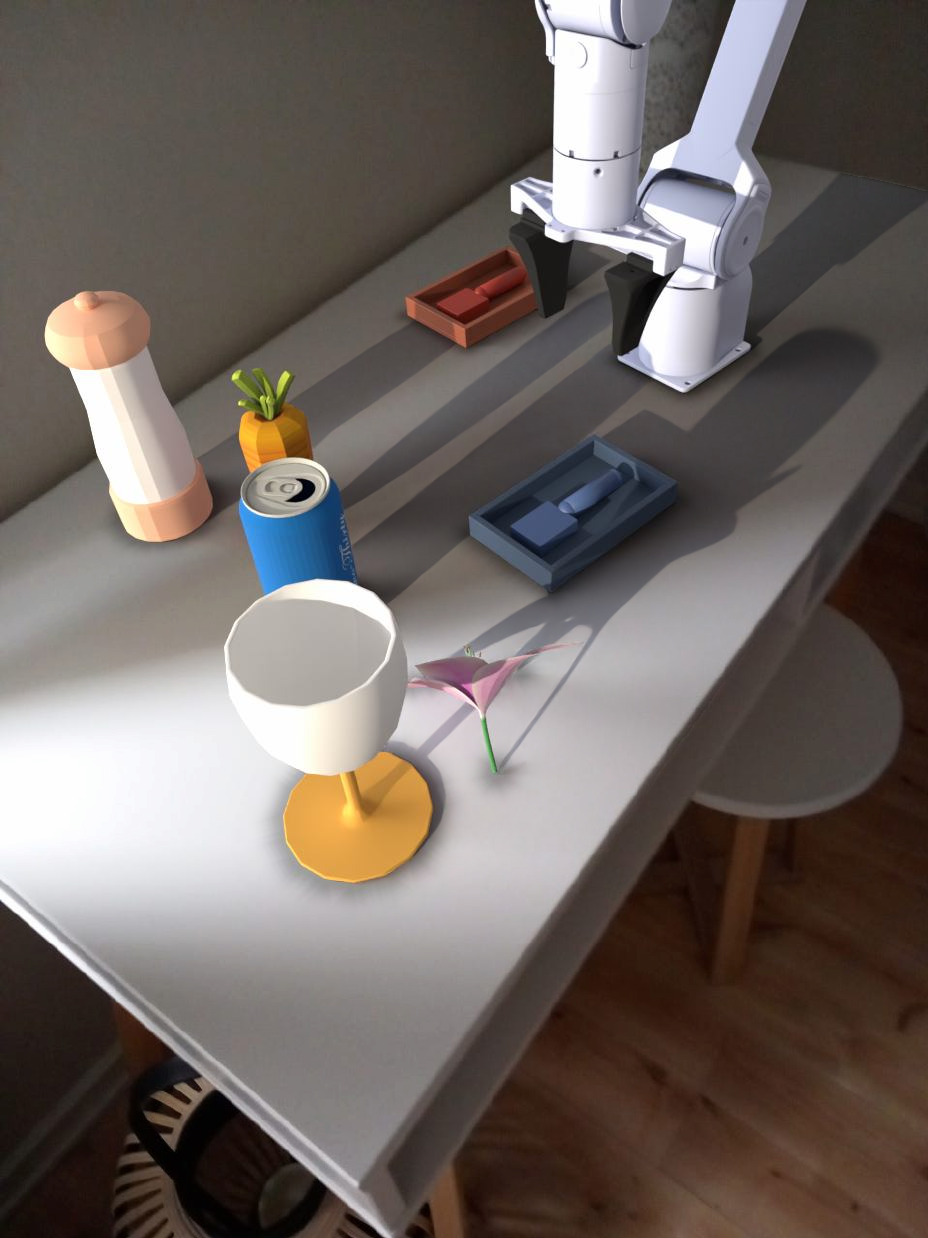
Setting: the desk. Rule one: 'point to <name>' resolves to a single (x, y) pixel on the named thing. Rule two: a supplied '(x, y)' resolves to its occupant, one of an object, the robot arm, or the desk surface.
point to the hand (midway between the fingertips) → (588, 330)
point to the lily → (474, 680)
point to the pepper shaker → (130, 415)
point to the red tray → (473, 276)
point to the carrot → (271, 421)
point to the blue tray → (596, 526)
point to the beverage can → (295, 524)
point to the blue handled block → (562, 515)
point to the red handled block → (479, 296)
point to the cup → (332, 723)
